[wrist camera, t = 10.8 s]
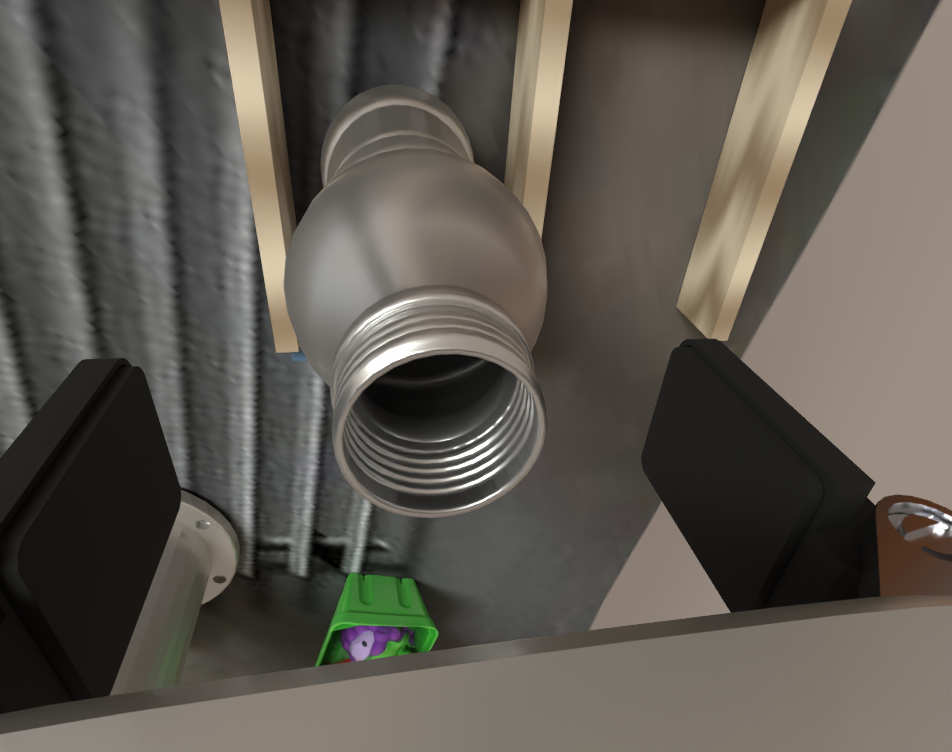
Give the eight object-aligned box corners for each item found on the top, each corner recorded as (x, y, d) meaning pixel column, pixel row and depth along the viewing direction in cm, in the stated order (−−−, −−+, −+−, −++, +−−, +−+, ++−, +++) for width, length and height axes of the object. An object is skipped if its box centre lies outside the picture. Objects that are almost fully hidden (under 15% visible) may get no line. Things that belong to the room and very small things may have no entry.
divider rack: (687, 321, 33) (721, 356, 30) (289, 329, 29) (279, 370, 26) (805, -58, 23) (876, -67, 20) (225, -119, 19) (195, -144, 16)
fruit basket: (336, 558, 40) (326, 724, 31) (449, 570, 43) (471, 725, 34) (304, 646, 46) (288, 809, 36) (407, 652, 49) (415, 804, 39)
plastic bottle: (324, 222, 26) (248, 579, 10) (325, 63, 23) (210, 220, 7) (455, 236, 28) (574, 568, 12) (476, 88, 24) (692, 267, 8)
